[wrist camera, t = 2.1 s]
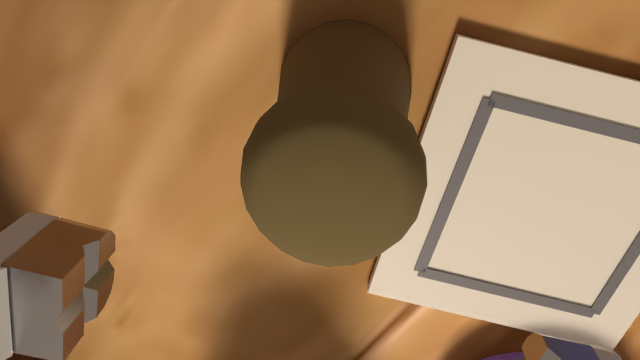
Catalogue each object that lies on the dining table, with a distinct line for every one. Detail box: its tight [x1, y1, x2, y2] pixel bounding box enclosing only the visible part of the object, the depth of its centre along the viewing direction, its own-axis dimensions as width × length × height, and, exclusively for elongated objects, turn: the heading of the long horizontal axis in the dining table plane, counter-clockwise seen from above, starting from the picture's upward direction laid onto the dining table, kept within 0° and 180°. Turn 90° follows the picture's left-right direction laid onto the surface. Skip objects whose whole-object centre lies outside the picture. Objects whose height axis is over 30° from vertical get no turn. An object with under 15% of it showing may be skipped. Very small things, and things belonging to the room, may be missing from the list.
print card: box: [368, 34, 640, 350], centre depth 23 cm, size 14×14×1 cm
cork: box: [241, 20, 427, 267], centre depth 17 cm, size 6×6×11 cm
